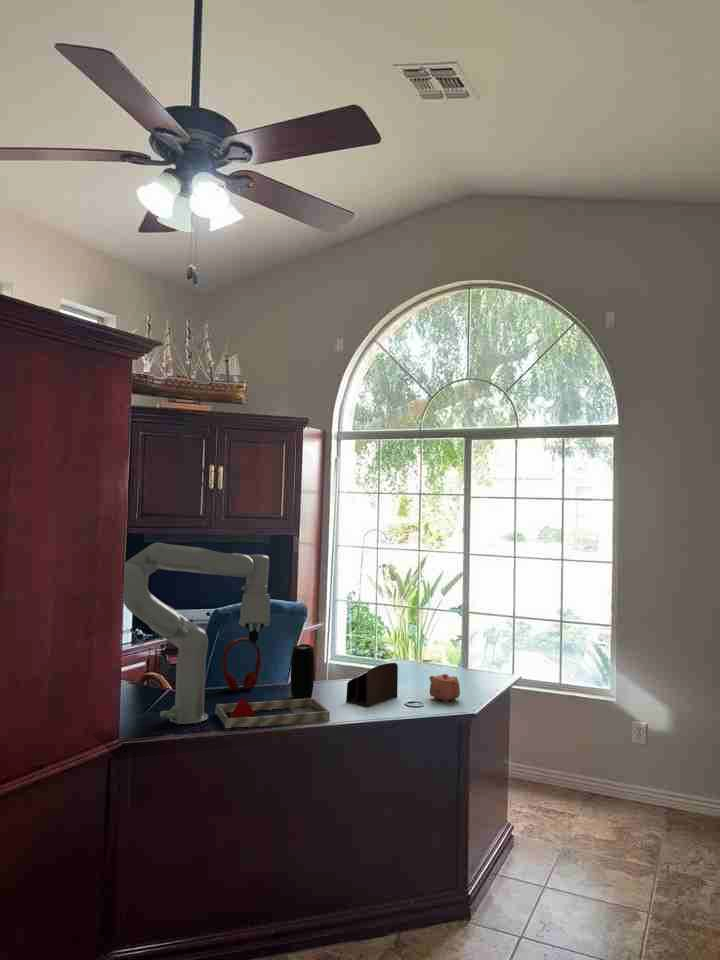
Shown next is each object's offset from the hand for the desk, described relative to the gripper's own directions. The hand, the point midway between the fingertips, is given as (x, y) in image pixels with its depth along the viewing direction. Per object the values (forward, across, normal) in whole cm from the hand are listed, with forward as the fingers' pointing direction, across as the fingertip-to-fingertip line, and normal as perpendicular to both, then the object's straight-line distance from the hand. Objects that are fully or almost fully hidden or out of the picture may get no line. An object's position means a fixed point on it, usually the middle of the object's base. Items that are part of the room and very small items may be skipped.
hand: (253, 642), depth 260 cm
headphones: (+24, +2, +31) cm, 39 cm away
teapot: (+22, +75, +2) cm, 78 cm away
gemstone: (+25, -4, -11) cm, 28 cm away
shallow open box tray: (+24, +7, -7) cm, 26 cm away
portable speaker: (+24, +23, +15) cm, 36 cm away
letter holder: (+23, +48, +8) cm, 54 cm away
